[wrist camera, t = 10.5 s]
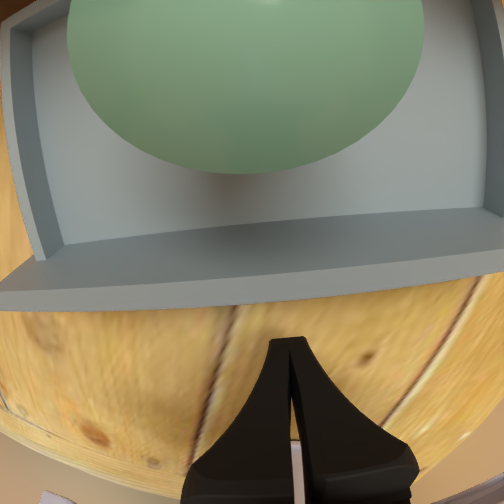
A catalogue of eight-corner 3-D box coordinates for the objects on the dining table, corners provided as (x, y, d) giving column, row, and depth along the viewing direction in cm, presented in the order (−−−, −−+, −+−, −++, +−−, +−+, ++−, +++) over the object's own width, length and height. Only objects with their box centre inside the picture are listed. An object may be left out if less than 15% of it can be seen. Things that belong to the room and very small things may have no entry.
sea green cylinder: (288, 164, 11) (336, 235, 4) (158, 112, 10) (25, 112, 3) (345, 45, 9) (455, -35, 2) (215, -7, 8) (165, -133, 2)
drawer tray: (490, 215, 12) (558, 260, 7) (58, 255, 13) (-4, 311, 9) (476, -7, 8) (543, -30, 3) (22, 36, 9) (-53, 27, 4)
